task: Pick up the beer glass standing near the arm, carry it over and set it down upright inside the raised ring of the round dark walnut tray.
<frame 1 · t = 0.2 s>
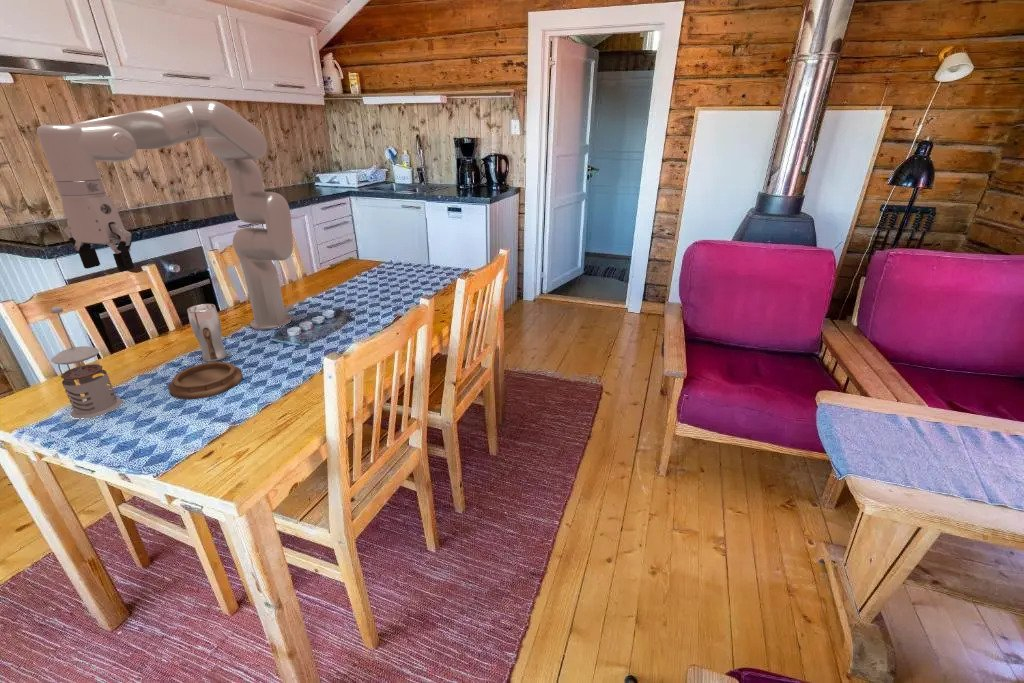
hand: (109, 268, 106), 31 cm above the table, tool pointing down, fingers open, 9 cm apart
round tray: (207, 383, 121), on the table
beer glass: (215, 357, 134), on the table
french press: (95, 408, 110), on the table
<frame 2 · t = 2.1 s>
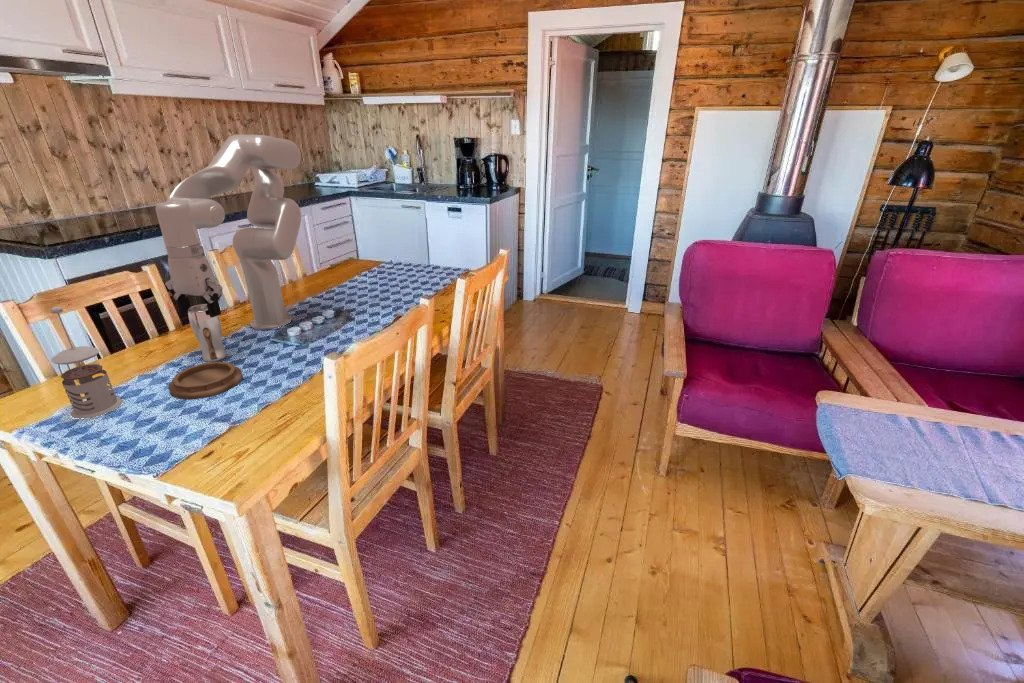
hand: (200, 314, 128), 13 cm above the table, tool pointing down, fingers open, 9 cm apart
nothing on the table moved.
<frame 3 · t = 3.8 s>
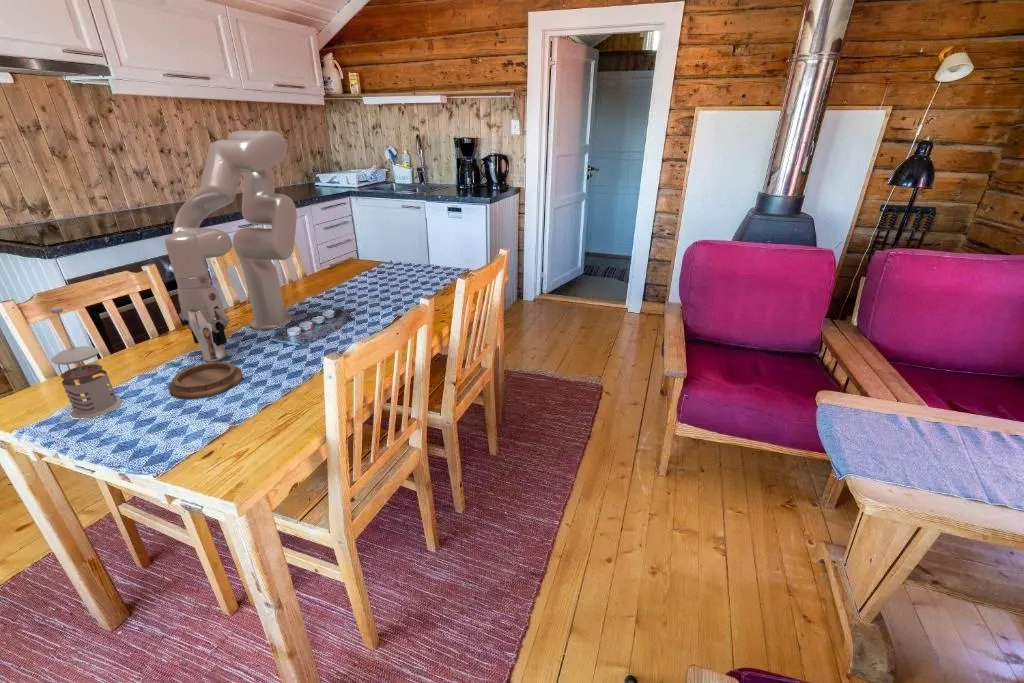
hand: (210, 342, 132), 5 cm above the table, tool pointing down, fingers closed on beer glass, 6 cm apart
beer glass: (215, 357, 134), on the table, touching gripper
everything else where it was.
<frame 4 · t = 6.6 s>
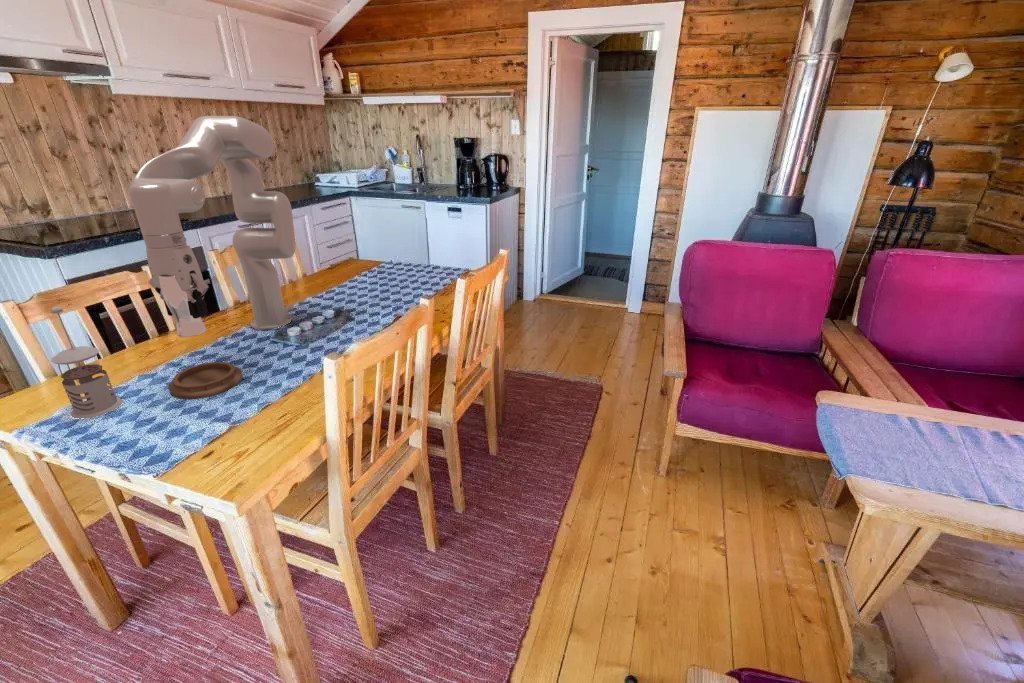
hand: (187, 314, 113), 19 cm above the table, tool pointing down, fingers closed on beer glass, 6 cm apart
beer glass: (192, 333, 115), point 14 cm above the table, touching gripper
everything else where it was.
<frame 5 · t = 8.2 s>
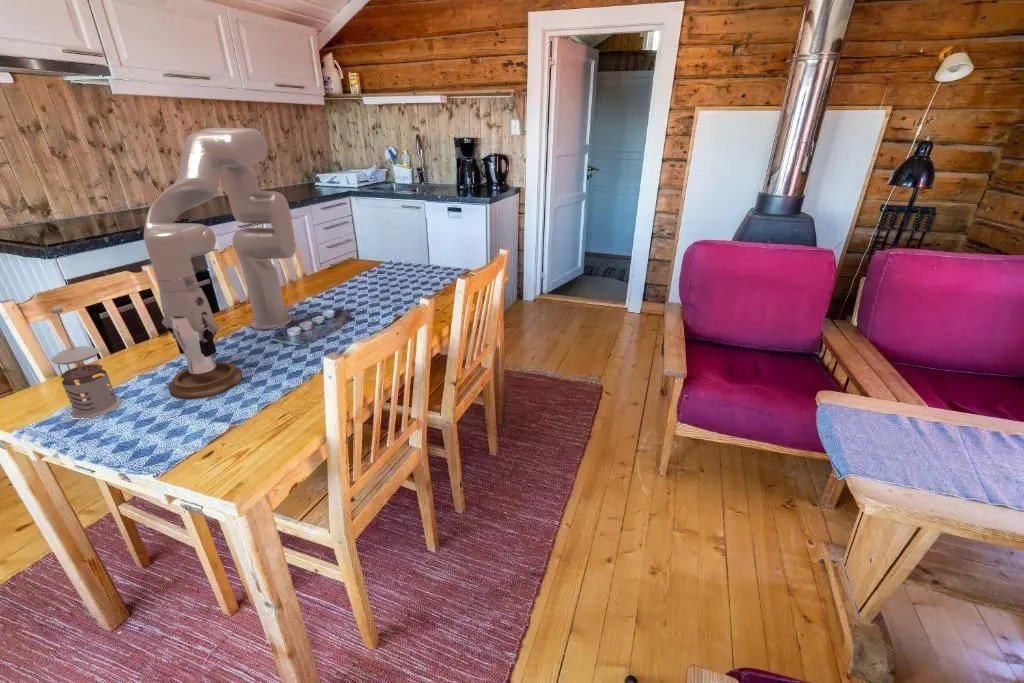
hand: (198, 352, 117), 9 cm above the table, tool pointing down, fingers closed on beer glass, 6 cm apart
beer glass: (203, 370, 119), point 4 cm above the table, touching gripper
everything else where it was.
when the fingers open (7 cm above the table, at t = 9.4 s): beer glass drops 1 cm, resting on round tray.
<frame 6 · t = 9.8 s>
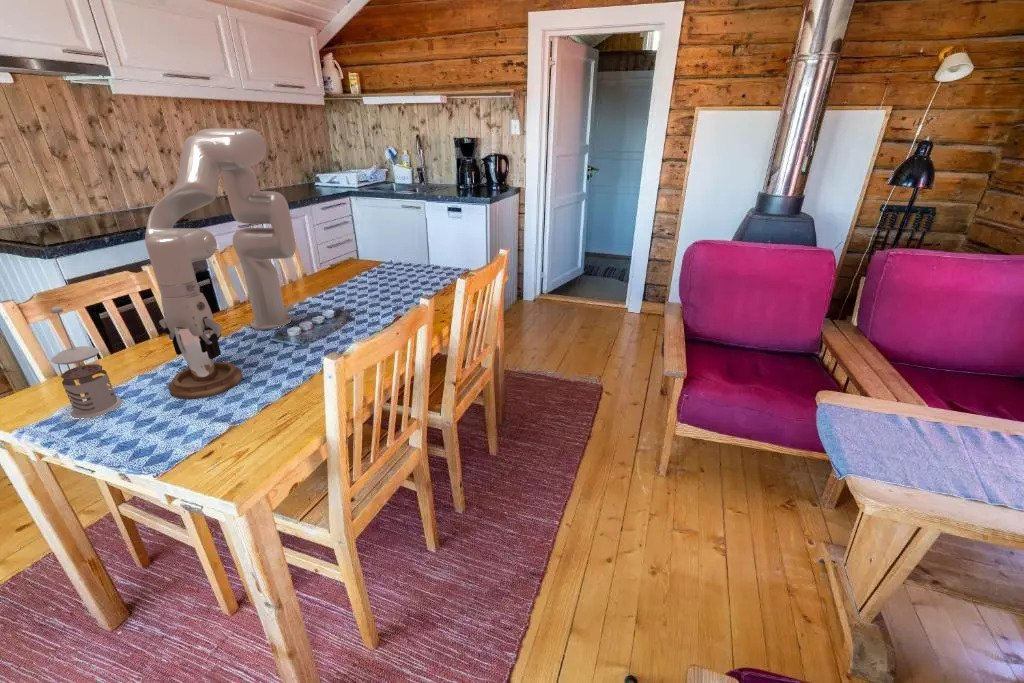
hand: (199, 354, 117), 8 cm above the table, tool pointing down, fingers open, 9 cm apart
beer glass: (206, 379, 120), point 1 cm above the table, touching round tray
everything else where it was.
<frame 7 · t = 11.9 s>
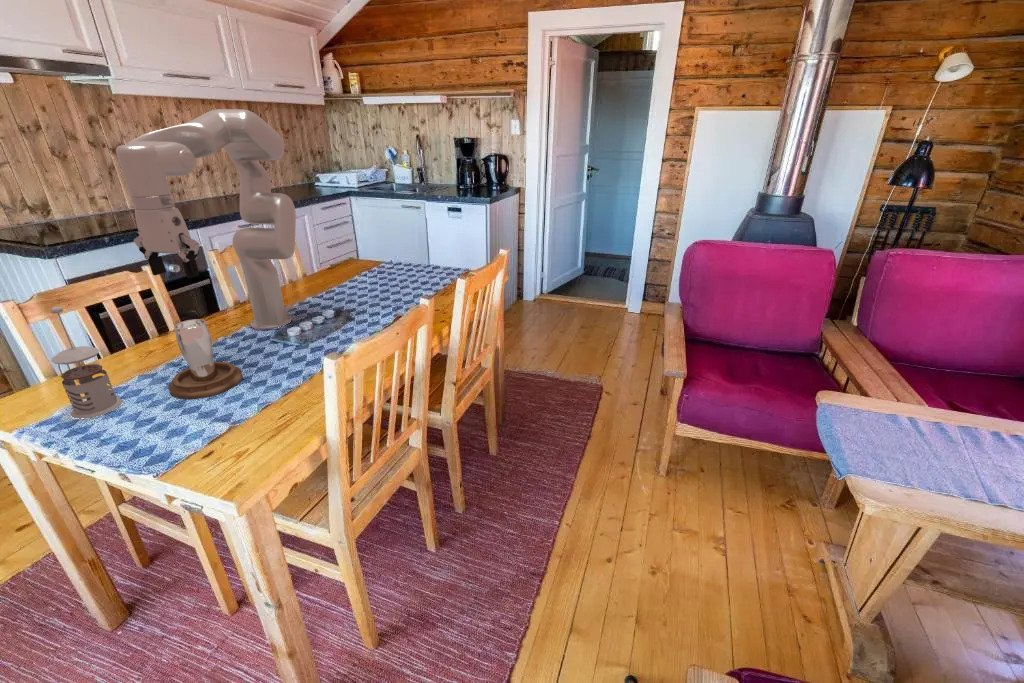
hand: (176, 275, 115), 27 cm above the table, tool pointing down, fingers open, 9 cm apart
nothing on the table moved.
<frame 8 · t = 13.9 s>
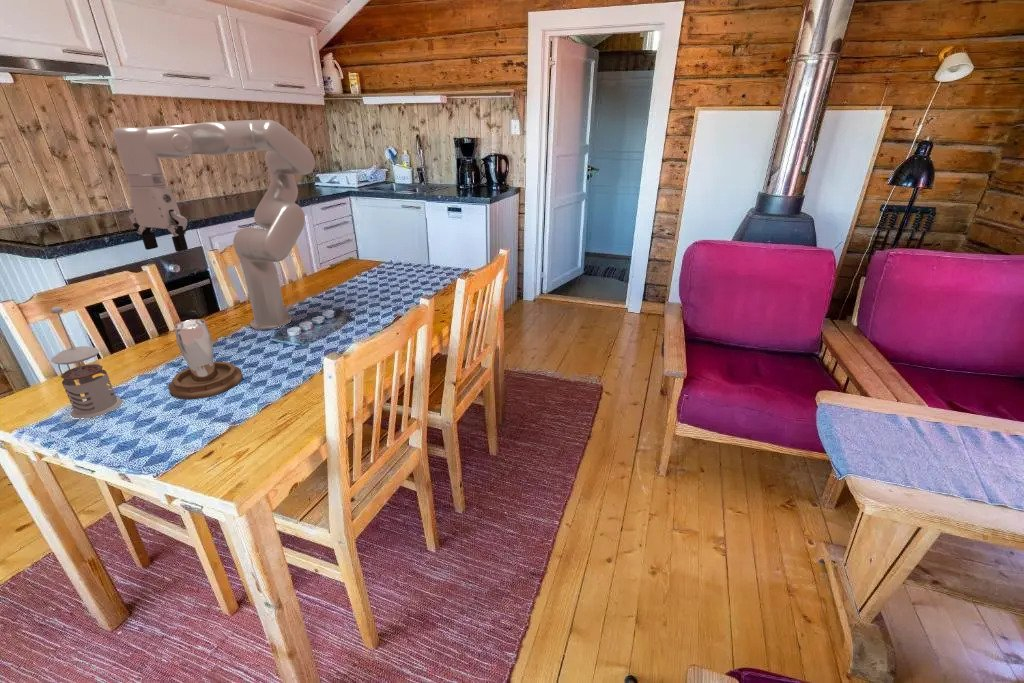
hand: (167, 249, 124), 30 cm above the table, tool pointing down, fingers open, 9 cm apart
nothing on the table moved.
at the end: beer glass 0.4 cm from the round tray (horizontally); beer glass tilted 0°; beer glass point 1.0 cm above the table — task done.
